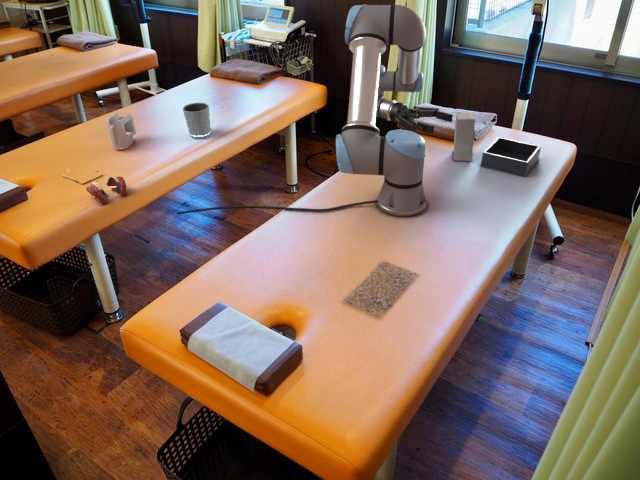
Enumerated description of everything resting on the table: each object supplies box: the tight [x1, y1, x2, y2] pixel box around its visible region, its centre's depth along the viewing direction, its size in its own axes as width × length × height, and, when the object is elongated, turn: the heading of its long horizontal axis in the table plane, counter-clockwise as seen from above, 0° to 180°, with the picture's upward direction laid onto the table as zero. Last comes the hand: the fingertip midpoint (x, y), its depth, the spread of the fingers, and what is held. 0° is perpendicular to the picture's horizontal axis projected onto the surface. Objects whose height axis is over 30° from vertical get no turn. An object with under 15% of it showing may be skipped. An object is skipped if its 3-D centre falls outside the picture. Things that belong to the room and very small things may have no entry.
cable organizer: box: [106, 112, 137, 151], centre depth 208 cm, size 7×12×12 cm, turn 169°
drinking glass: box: [182, 102, 212, 140], centre depth 214 cm, size 10×10×12 cm
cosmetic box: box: [453, 111, 476, 162], centre depth 191 cm, size 8×7×16 cm
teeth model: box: [85, 176, 127, 205], centre depth 176 cm, size 8×6×12 cm
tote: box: [480, 136, 542, 178], centre depth 189 cm, size 16×16×5 cm
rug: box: [344, 260, 417, 317], centre depth 134 cm, size 10×20×1 cm, turn 145°
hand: (442, 124), depth 195 cm, fingers open, 13 cm apart
